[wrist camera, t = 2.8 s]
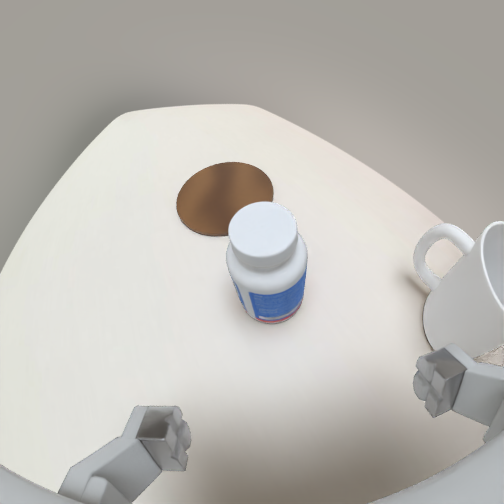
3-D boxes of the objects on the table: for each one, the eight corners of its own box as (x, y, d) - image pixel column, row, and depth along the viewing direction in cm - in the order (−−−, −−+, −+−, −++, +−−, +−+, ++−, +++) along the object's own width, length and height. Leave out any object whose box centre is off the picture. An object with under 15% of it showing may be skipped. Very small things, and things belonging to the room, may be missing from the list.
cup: (461, 381, 17) (538, 352, 8) (375, 301, 22) (420, 235, 14) (493, 315, 19) (554, 267, 11) (417, 245, 25) (458, 174, 16)
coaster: (251, 154, 34) (250, 152, 34) (290, 212, 28) (290, 210, 28) (169, 184, 33) (168, 181, 33) (189, 251, 27) (188, 249, 27)
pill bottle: (314, 287, 24) (329, 217, 16) (279, 336, 22) (277, 288, 14) (264, 257, 26) (253, 181, 18) (228, 302, 24) (197, 239, 16)
